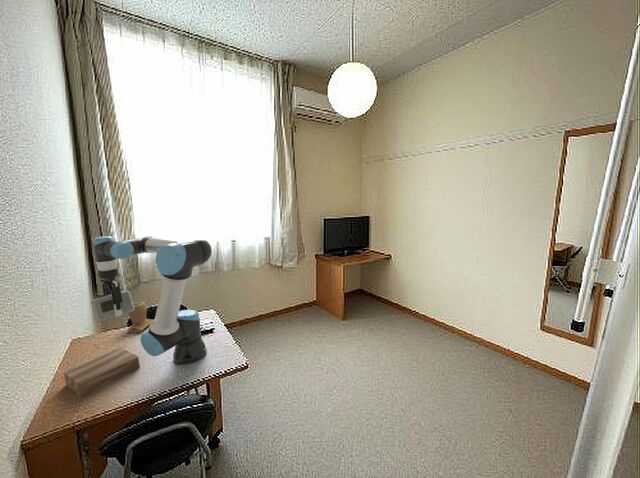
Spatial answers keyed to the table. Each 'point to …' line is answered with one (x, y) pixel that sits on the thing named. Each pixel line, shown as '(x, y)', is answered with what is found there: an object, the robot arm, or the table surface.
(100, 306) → the digital clock
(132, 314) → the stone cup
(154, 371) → the table surface
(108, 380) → the walnut block
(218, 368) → the table surface
